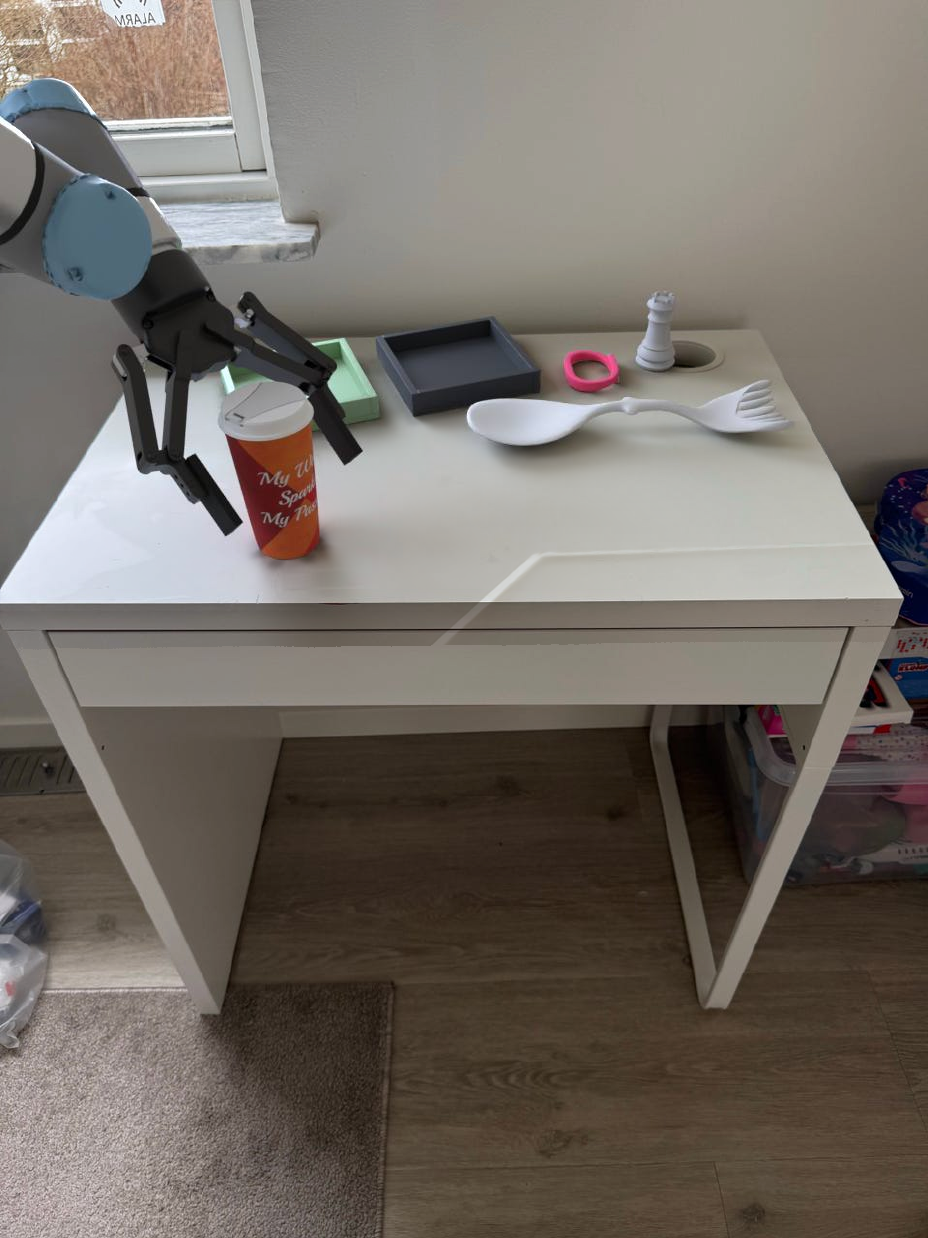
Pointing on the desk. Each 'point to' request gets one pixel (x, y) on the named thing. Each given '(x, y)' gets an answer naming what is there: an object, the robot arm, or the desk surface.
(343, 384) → the sage tray
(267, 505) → the paper cup
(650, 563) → the desk surface
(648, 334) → the rook chess piece
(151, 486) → the desk surface
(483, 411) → the spoon
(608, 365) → the fitness band
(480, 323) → the charcoal tray
